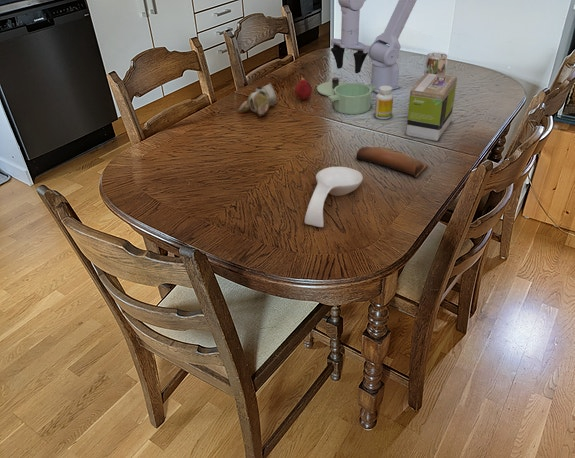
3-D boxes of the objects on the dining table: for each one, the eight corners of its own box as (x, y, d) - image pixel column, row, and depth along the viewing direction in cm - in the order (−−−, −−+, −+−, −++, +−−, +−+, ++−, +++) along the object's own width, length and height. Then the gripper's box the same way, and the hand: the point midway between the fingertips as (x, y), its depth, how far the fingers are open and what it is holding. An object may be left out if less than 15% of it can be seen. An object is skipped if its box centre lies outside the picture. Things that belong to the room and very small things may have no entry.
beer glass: (443, 96, 173) (450, 53, 164) (439, 104, 168) (445, 60, 159) (423, 94, 176) (428, 51, 167) (418, 101, 171) (424, 57, 162)
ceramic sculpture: (283, 80, 167) (259, 99, 157) (285, 104, 172) (262, 124, 163) (256, 76, 171) (231, 94, 162) (259, 100, 177) (235, 118, 167)
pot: (320, 106, 171) (320, 89, 167) (362, 95, 177) (363, 78, 174) (340, 119, 162) (340, 101, 158) (384, 106, 168) (385, 89, 165)
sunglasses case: (428, 163, 136) (425, 150, 130) (417, 185, 134) (414, 172, 129) (370, 147, 145) (365, 133, 139) (359, 166, 143) (354, 154, 138)
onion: (312, 97, 178) (312, 74, 173) (311, 103, 173) (311, 81, 168) (296, 97, 178) (295, 75, 173) (294, 103, 174) (294, 81, 169)
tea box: (420, 116, 161) (426, 71, 152) (451, 122, 157) (459, 76, 148) (404, 135, 151) (409, 88, 142) (437, 142, 147) (445, 94, 138)
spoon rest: (325, 174, 135) (325, 150, 130) (367, 181, 131) (369, 157, 127) (291, 222, 118) (290, 197, 113) (338, 233, 114) (339, 207, 109)
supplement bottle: (371, 115, 164) (373, 86, 158) (385, 111, 165) (387, 83, 160) (381, 121, 160) (383, 92, 154) (394, 117, 161) (397, 88, 156)
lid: (310, 89, 184) (310, 76, 181) (340, 81, 189) (340, 69, 186) (329, 101, 174) (329, 88, 171) (361, 92, 179) (361, 80, 176)
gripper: (325, 28, 164) (324, 69, 172) (361, 35, 156) (359, 78, 164) (338, 23, 168) (337, 63, 176) (374, 30, 160) (371, 72, 168)
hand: (348, 70), depth 170 cm, fingers open, 7 cm apart
